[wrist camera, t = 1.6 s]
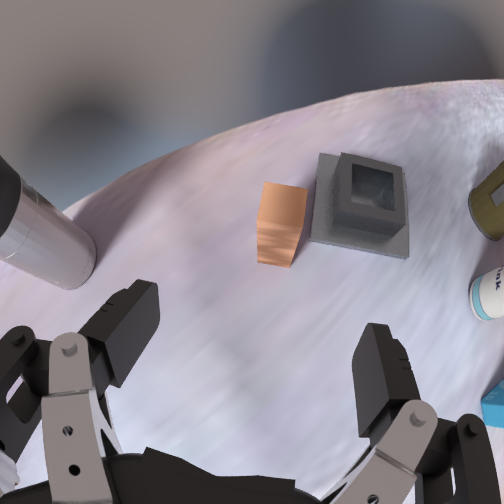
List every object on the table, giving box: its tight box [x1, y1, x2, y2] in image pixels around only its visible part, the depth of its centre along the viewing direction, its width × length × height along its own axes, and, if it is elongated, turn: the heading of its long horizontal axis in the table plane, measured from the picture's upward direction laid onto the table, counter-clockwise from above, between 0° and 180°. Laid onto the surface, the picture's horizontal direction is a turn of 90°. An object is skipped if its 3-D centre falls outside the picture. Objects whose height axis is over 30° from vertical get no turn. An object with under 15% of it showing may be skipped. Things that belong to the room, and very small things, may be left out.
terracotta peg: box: [257, 182, 308, 268], centre depth 31 cm, size 4×4×12 cm
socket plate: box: [309, 152, 409, 260], centre depth 36 cm, size 14×14×5 cm
